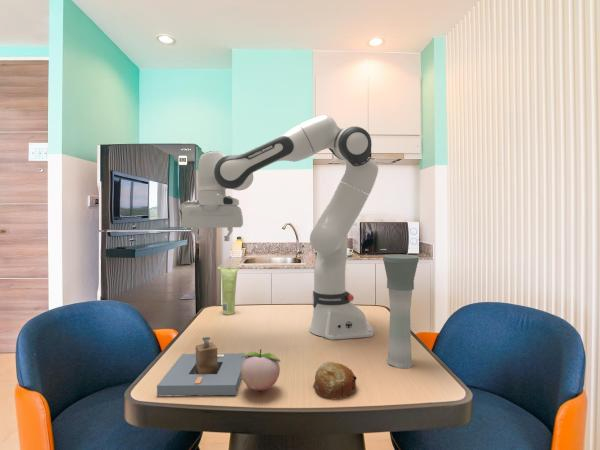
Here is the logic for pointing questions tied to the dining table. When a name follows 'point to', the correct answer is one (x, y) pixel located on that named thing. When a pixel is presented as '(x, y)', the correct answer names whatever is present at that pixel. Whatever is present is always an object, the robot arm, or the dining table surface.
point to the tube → (228, 289)
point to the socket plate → (202, 377)
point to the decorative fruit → (260, 370)
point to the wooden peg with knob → (206, 358)
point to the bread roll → (334, 380)
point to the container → (400, 307)
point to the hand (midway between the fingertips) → (212, 241)
